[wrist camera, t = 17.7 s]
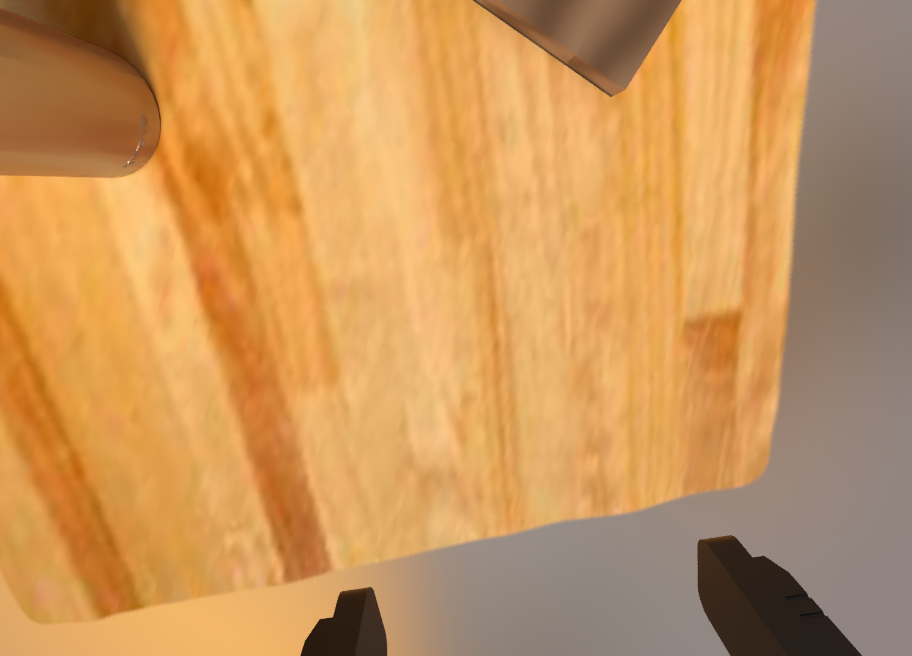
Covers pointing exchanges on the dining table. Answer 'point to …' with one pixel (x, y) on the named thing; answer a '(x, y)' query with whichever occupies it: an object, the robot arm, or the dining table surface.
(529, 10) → the socket block
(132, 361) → the dining table surface
